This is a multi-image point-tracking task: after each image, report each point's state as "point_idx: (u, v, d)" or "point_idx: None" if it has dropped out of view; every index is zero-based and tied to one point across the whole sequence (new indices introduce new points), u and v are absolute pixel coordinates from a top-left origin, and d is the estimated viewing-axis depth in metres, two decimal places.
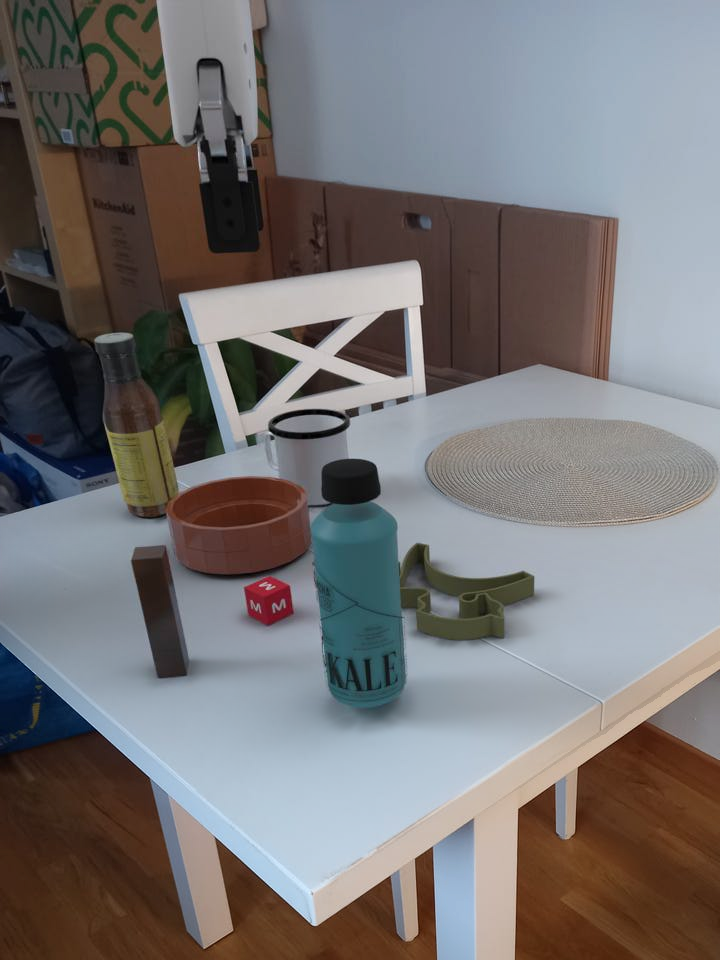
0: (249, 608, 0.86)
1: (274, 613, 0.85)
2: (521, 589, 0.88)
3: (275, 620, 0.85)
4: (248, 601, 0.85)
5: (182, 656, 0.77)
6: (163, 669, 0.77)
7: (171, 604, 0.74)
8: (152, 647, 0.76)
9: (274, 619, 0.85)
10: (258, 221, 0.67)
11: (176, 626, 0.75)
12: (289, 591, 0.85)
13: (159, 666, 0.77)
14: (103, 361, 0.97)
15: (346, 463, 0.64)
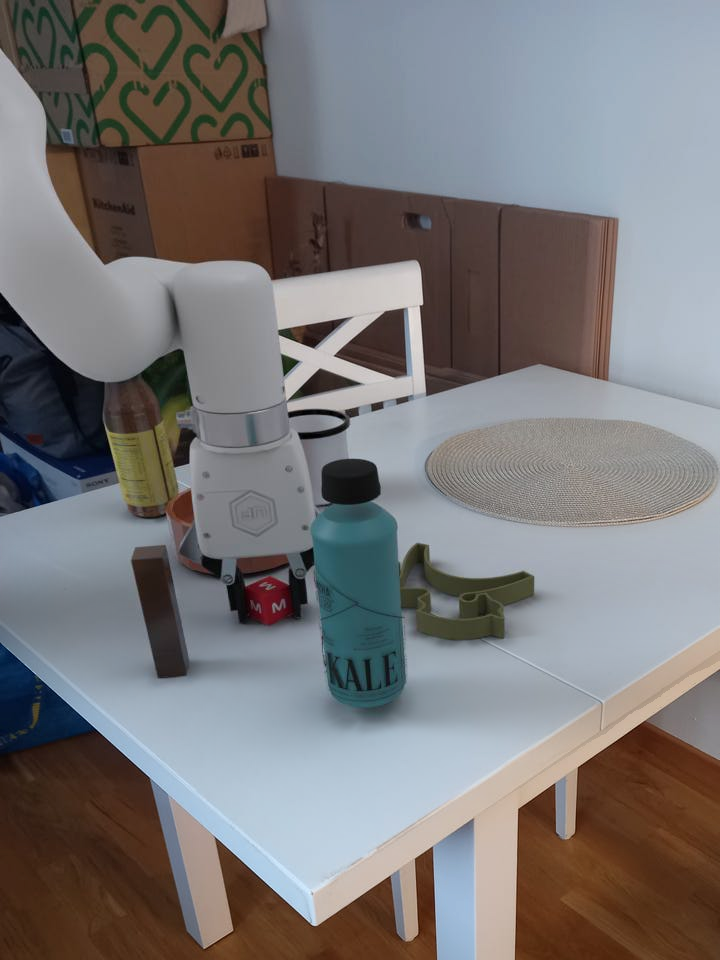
0: (249, 608, 0.86)
1: (274, 613, 0.85)
2: (521, 589, 0.88)
3: (275, 620, 0.85)
4: (248, 601, 0.85)
5: (182, 656, 0.77)
6: (163, 669, 0.77)
7: (171, 604, 0.74)
8: (152, 647, 0.76)
9: (274, 619, 0.85)
10: None
11: (176, 626, 0.75)
12: (289, 591, 0.85)
13: (159, 666, 0.77)
14: None
15: (346, 463, 0.64)
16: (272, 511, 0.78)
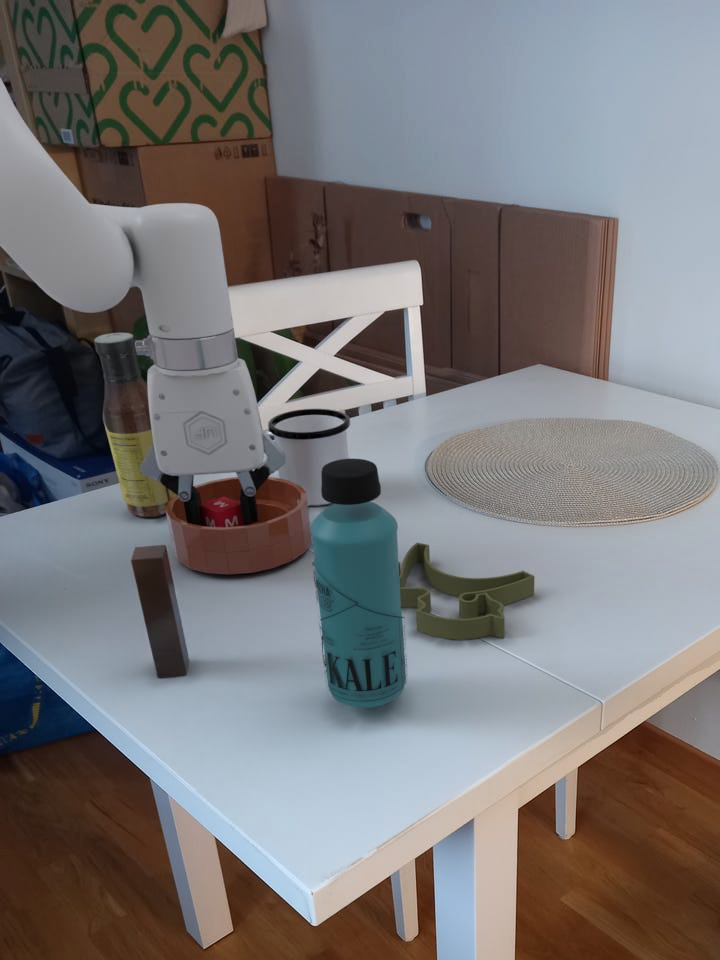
0: (205, 525, 0.95)
1: None
2: (521, 589, 0.88)
3: None
4: (204, 518, 0.94)
5: (182, 656, 0.77)
6: (163, 669, 0.77)
7: (171, 604, 0.74)
8: (152, 647, 0.76)
9: None
10: None
11: (176, 626, 0.75)
12: None
13: (159, 666, 0.77)
14: (103, 361, 0.97)
15: (346, 463, 0.64)
16: (222, 431, 0.88)
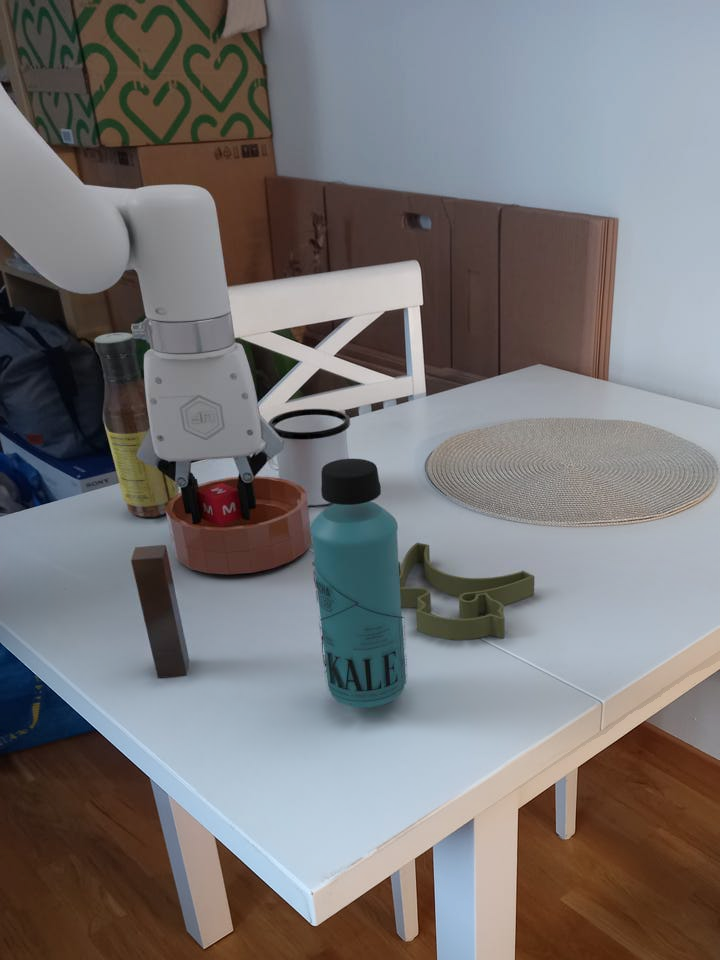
0: (202, 511, 0.94)
1: (225, 515, 0.93)
2: (521, 589, 0.88)
3: (226, 522, 0.94)
4: (202, 505, 0.94)
5: (182, 656, 0.77)
6: (163, 669, 0.77)
7: (171, 604, 0.74)
8: (152, 647, 0.76)
9: (225, 521, 0.93)
10: None
11: (176, 626, 0.75)
12: None
13: (159, 666, 0.77)
14: (103, 361, 0.97)
15: (346, 463, 0.64)
16: (219, 416, 0.87)
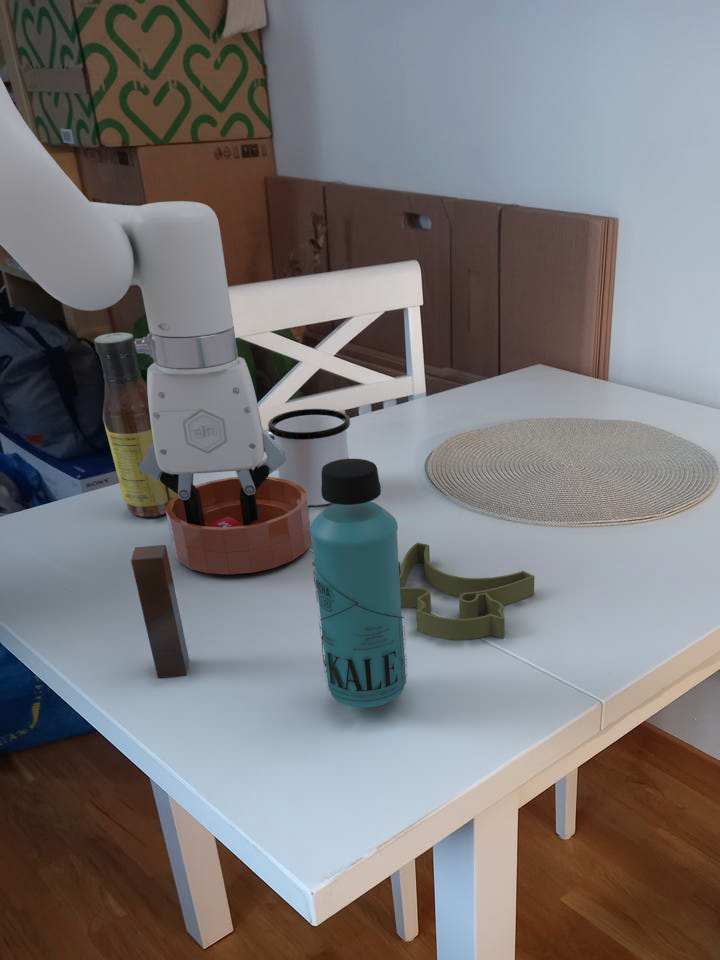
0: None
1: None
2: (521, 589, 0.88)
3: None
4: None
5: (182, 656, 0.77)
6: (163, 669, 0.77)
7: (171, 604, 0.74)
8: (152, 647, 0.76)
9: None
10: None
11: (176, 626, 0.75)
12: None
13: (159, 666, 0.77)
14: (103, 361, 0.97)
15: (346, 463, 0.64)
16: (222, 430, 0.88)
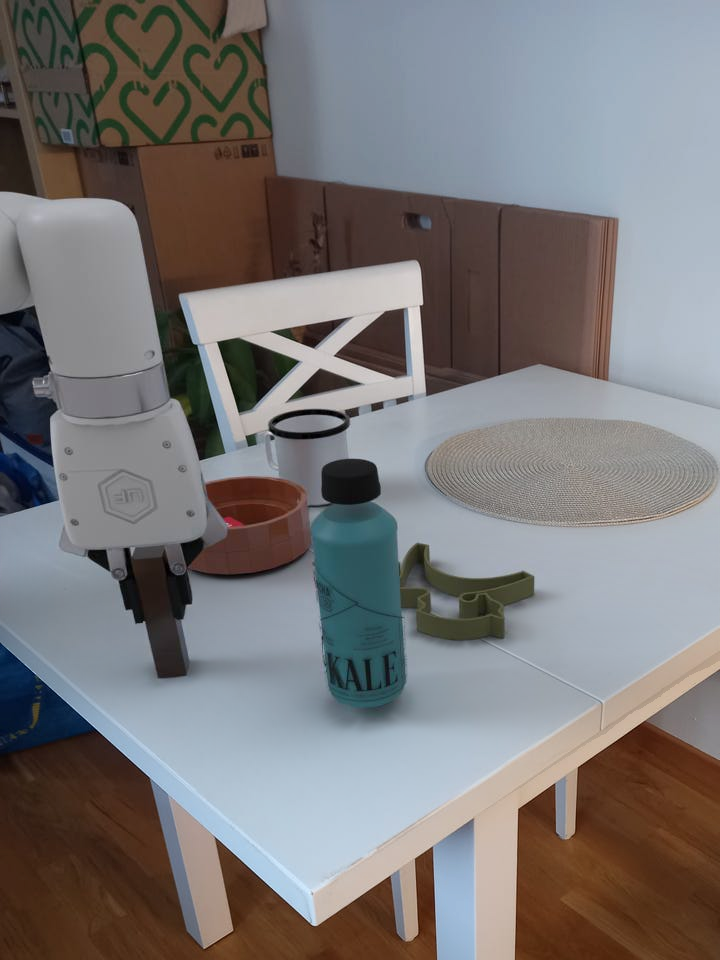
0: None
1: None
2: (521, 589, 0.88)
3: None
4: None
5: (182, 656, 0.77)
6: (163, 669, 0.77)
7: None
8: (152, 647, 0.76)
9: None
10: None
11: (176, 626, 0.75)
12: None
13: (159, 666, 0.77)
14: None
15: (346, 463, 0.64)
16: (150, 494, 0.68)
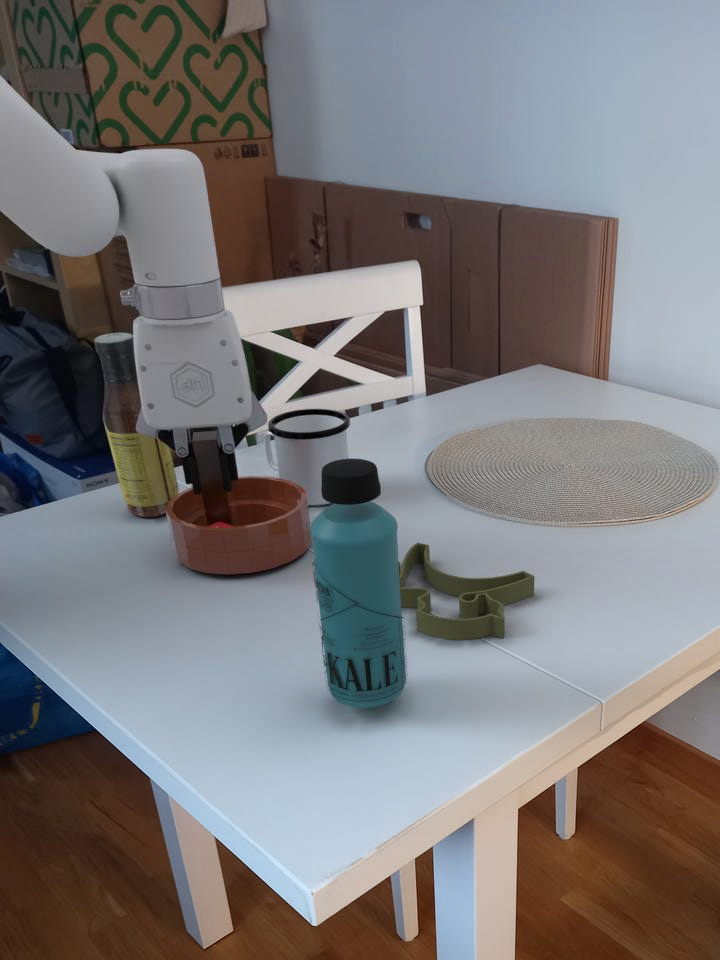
0: None
1: None
2: (521, 589, 0.88)
3: None
4: None
5: (230, 522, 0.96)
6: None
7: None
8: (207, 514, 0.95)
9: None
10: None
11: (226, 497, 0.95)
12: None
13: None
14: (103, 361, 0.97)
15: (346, 463, 0.64)
16: (209, 383, 0.87)
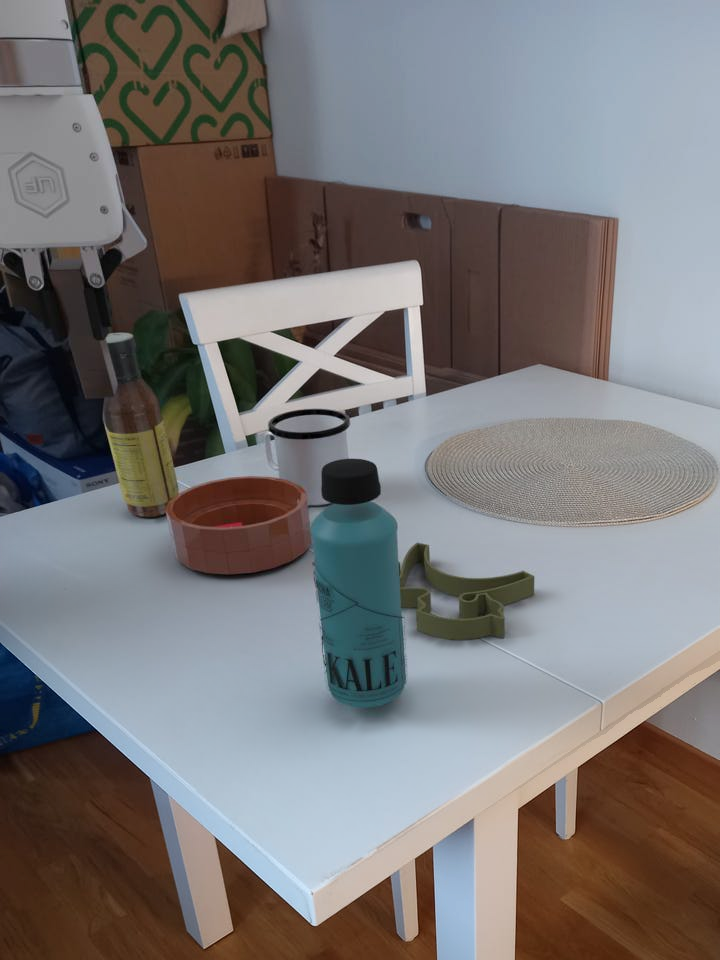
0: None
1: None
2: (521, 589, 0.88)
3: None
4: None
5: (109, 377, 0.78)
6: (91, 390, 0.78)
7: None
8: (78, 365, 0.77)
9: None
10: None
11: (100, 345, 0.76)
12: None
13: (86, 387, 0.78)
14: None
15: (346, 463, 0.64)
16: (62, 184, 0.67)
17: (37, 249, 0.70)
